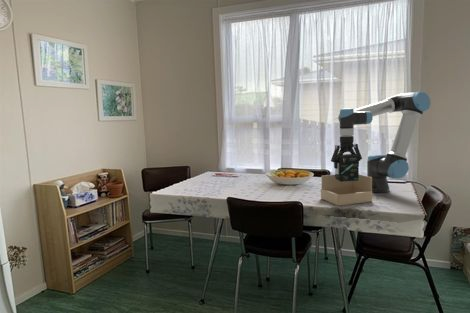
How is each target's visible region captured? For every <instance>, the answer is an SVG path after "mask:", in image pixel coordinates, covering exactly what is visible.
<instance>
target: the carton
mask: <svg viewBox="0 0 470 313" xmlns="http://www.w3.org/2000/svg"><path fill="white" fill-rule="evenodd" d="M320 199H321V200H323V201H326V202H328V203H330V204H333V205H335V206H338V207H342V206H348V205H354V204H355V205H356V204H363V203H370V202H373V192H372V177H368V176H367V175H364V174H360V173H359V180H358V181H343V182H340V181H339V180H337V179H335V174H328V175H327V174H326V175H321V188H320Z"/></svg>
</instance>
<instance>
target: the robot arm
mask: <svg viewBox="0 0 470 313" xmlns="http://www.w3.org/2000/svg"><path fill="white" fill-rule="evenodd" d="M430 108H431V98H430V96H429V94H428V93H427V92H425V91H413V92H412V91H411V92H401V93H398V94H396V95H392V96H390V97H389V96H388V97H387V98H385V99H384V100H382V101H379V102H375V103H372V104H369V105H365V106H362V107H359V108H355V109H354V108H341V109H340V110H339V114H338V117H337V118H338V119H337V120H338V122H339V144H340V145H339V144H338V145H337V144H335V145H334V150H333V151H334V152H333V153H332V157H331V159H330V162H331V163H333V168H334V175H335V174H339V163H338V161H339V156H342V155H343V154H346V153H349V154H355V155H358V156H359V162H360V161H361V160H362V159H363V157H362V154H361V151H360V148H359V143H354V139H355V138H354V128H355V127H354V126H357V125H358V126H359V125H370V124H371V123H372V122H373V117H376V116H380V115H382V114H386V113H389V114H392V113H396V112H400V113H401V114H402V116H401V120H400V123H399V125H398V129H397V131H396V134H395V138H394V140H393V143H392V146H391V149H390V151H389V152H387V153H386V154H374V155H373V154H372V155H368V156H367V159H366V160H367V161H366V164H367V165H366V166H367V167H366V168H367V169H366V171H367V174H366V176H368V177H372V193H388V192H390V185H389V183H388V179H387V178H391V179H398V180H399V179H403V178H404V177H405V176H406V175H407V174H408V172H409V169H410V168H409V163H408V162H407V161H408V158H407V156H406V155H407V152H408V149H409V146H410V144H411V140H412V138H413V134H414V132H415V128H416V126H417V122H418V120H419V118H421V117H422V116H423V114H424V112H426V111H428V110H429V109H430Z"/></svg>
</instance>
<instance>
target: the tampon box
mask: <svg viewBox="0 0 470 313" xmlns="http://www.w3.org/2000/svg"><path fill="white" fill-rule="evenodd" d="M355 154H356V153H355ZM355 154H351V153H343V155H342V156H339V161H338V163H339V174H335V173H334V175H335V179H337V180H339V181H340V182H343V181H358V180H359V174H360V173H359V171H360V170H359V167H360V161H359V156H358V155H355Z"/></svg>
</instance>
